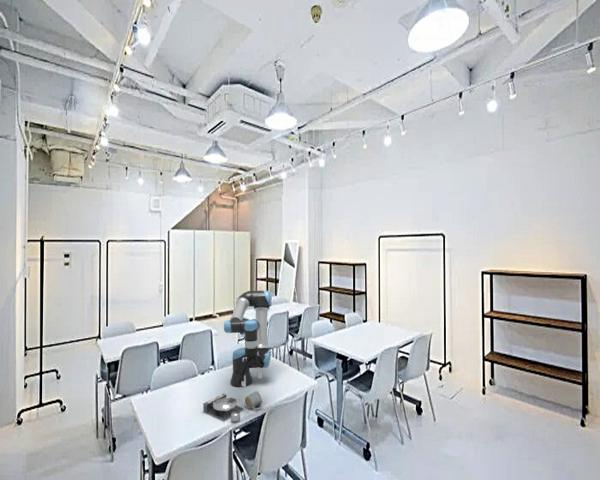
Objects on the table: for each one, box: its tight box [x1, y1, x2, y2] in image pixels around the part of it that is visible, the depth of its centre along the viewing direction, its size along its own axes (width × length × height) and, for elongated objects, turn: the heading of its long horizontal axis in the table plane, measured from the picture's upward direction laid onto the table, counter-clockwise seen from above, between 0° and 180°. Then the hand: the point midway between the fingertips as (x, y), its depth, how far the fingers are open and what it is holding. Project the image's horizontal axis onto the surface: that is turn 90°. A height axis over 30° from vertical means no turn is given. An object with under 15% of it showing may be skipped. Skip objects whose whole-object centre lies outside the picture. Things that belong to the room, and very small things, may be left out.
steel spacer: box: [230, 411, 241, 424], centre depth 183 cm, size 5×5×4 cm
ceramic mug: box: [244, 390, 263, 412], centre depth 197 cm, size 11×8×8 cm
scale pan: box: [213, 397, 238, 411], centre depth 192 cm, size 14×14×3 cm
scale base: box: [202, 393, 245, 422], centre depth 193 cm, size 15×18×5 cm
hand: (251, 382), depth 197 cm, fingers open, 13 cm apart
